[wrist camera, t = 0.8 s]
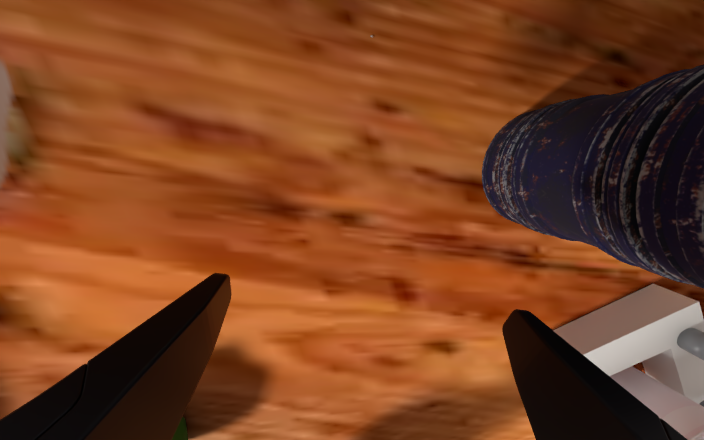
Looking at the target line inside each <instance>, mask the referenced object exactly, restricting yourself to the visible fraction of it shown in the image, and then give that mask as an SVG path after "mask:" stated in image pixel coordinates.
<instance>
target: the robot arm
mask: <svg viewBox="0 0 704 440" xmlns="http://www.w3.org/2000/svg"><path fill="white" fill-rule="evenodd" d="M230 300H231V285H230V277H229V275H227V274H220V273H214V274H212V275H211V276H209V277H208V278H206V279H205V280H204V281H202V282H201V283H199V284H198V285H196V286H195V287H194V288H192V289H191V290H189V291H188V292H186V293H185V294H184V295H182V296H181V297H179V298H178V299H176V300H175V301H174V302H172V303H171V304H169V305H168V306H166V307H165V308H164V309H162V310H161V311H159V312H158V313H156V314H155V315H154V316H152V317H151V318H149V319H148V320H146V321H145V322H144V323H142V324H141V325H139V326H138V327H136V328H135V329H134V330H132V331H131V332H129V333H128V334H126V335H125V336H124V337H122V338H121V339H119V340H118V341H116V342H115V343H114V344H112V345H111V346H109V347H108V348H106V349H105V350H104V351H102V352H101V353H99V354H98V355H96V356H95V357H94V358H92V359H91V360H89V361H88V363H87V364H84V365H82V366H81V367H79V368H78V369H76V370H75V371H73V372H72V373H71V374H69V375H68V376H66V377H65V378H63V379H62V380H60V381H59V382H57V383H56V384H55V385H53V386H52V387H50V388H49V389H47V390H46V391H44V392H43V393H41V394H40V395H38V396H37V397H35V398H34V399H32V400H31V401H29V402H27V403H26V404H24V405H23V406H21V407H20V408H18V409H16V410H15V411H13V412H12V413H10V414H9V415H7V416H5V417H4V418H2V419H1V420H0V440H172V438H173V436H174V433H175V431H176V429H177V427H178V425H179V423H180V421H181V418H182V416H183V414H184V412H185V410H186V408H187V406H188V404H189V401H190V399H191V397H192V395H193V393H194V391H195V389H196V386H197V384H198V382H199V380H200V378H201V376H202V374H203V371H204V369H205V367H206V365H207V363H208V361H209V359H210V356H211V354H212V352H213V350H214V347H215V344H216V341H217V338H218V335H219V332H220V330H221V327H222V324H223V321H224V318H225V315H226V312H227V309H228V306H229V303H230ZM502 330H503V336H504V340H505V344H506V348H507V352H508V356H509V360H510V363H511V367H512V371H513V375H514V378H515V382H516V385H517V388H518V391H519V393H520V396H521V399H522V402H523V405H524V407H525V410H526V413H527V416H528V419H529V421H530V424H531V427H532V430H533V433H534V435H535V438H536V440H688V439H686V438H685V437H684V436H683V435H681V434H680V433H679V432H678V431H676V430H675V429H674V428H673V427H671V426H670V425H669V424H668V423H667V422H665V421H664V420H663V419H661V418H659V417H658V415H657V414H655V413H654V412H653V411H652V410H650V409H649V408H648V407H647V406H645V405H644V404H643V403H642V402H641V401H639V400H638V399H637V398H636V397H634V396H633V395H632V394H631V393H629V392H628V391H627V390H626V389H625V388H623V387H622V386H621V385H620V384H618V383H617V382H616V381H615V380H613V379H612V378H611V377H610V376H608V375H607V374H606V373H605V372H604V371H602V370H601V369H600V368H599V367H597V366H596V365H595V364H594V363H592V362H591V361H590V360H589V359H587V358H586V357H585V356H584V355H583V354H581V353H580V352H579V351H578V350H576V349H575V348H574V347H573V346H571V345H570V344H569V343H568V342H566V341H565V340H564V339H563V338H562V337H560V336H559V335H558V334H557V333H555V332H554V331H553V330H552V329H550V328H549V327H548V326H547V325H545V324H544V323H543V322H542V321H541V320H539V319H538V318H537V317H536V316H534V315H533V314H532V313H531V312H529V311H526V310H518V309H516V310H514V311H513V312H512V313H511V314H510V316H509V317H508V319H507V320H506V322H505V323H504V325H503V329H502Z"/></svg>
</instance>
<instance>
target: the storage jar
mask: <svg viewBox="0 0 704 440" xmlns="http://www.w3.org/2000/svg"><path fill="white" fill-rule="evenodd" d="M482 182H483V188H484V191H485V194H486V197H487V199H488V201H489V202H490V204H491V205H492V207H493V208H494V209H495V210H496V211H497V212H498V213H499V214H500V215H502V216H503V217H505V218H506V219H508V220H511V221H513V222H516V223H518V224H522V225H523V226H525V227H527V228H529V229H532V230H534V231H537V232H540V233H543V234H546V235H551V236H555V237H558V238H561V239H566V240H570V241H581V242H584V243H587V244H590V245H593V246H596V247H598V248H599V249H601V250H602V251H604V252H606V253H607V254H609V255H611V256H613V257H614V258H616V259H618V260H619V261H622V262H624V263H627V264H629V265H633V266H637V267H641V268H642V269H645V270H647V271H650V272H652V273H655V274H658V275H661V276H663V277H666V278H669V279H672V280H675V281H677V282H682V283H687V284H692V285H695V286H698V287H701V288H704V65H701V66H697V67H695V68H693V69H685V70H680V71H676V72H673V73H669V74H666V75H663V76H661V77H659V78H657V79H654V80H652V81H649V82H647V83H645V84H642V85H640V86H638V87H636V88H635V89H633V90H629V91H625V92H621V93H617V94H613V95H604V94H602V95H592V96H588V97H582V98H578V99H570V100H567V101H563V102H559V103H555V104H551V105H548V106H546V107H544V108H542V109H538V110H534V111H530V112H527V113H524V114H522V115H520V116H517V117H516V118H514V119H513V120H511V121H510V122H508V123H507V124H506V125H505V126H504V127H503V128H502V129H501V130H500V131H499V132H498V133H497V134H496V135H495V137H494V139H493V140H492V142H491V143H490V145H489V147H488V149H487V152H486V154H485V158H484V161H483V167H482Z"/></svg>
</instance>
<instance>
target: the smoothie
mask: <svg viewBox="0 0 704 440" xmlns="http://www.w3.org/2000/svg"><path fill="white" fill-rule="evenodd" d="M610 377H611V378H612V379H613V380H615V381H616V382H617V383H618V384H620V385H621V386H622V387H623V388H625V389H626V390H627V391H628V392H629V393H631V394H632V395H633V396H634V397H636V398H637V399H638V400H639V401H641V402H642V403H643V404H644V405H645V406H647V407H648V408H649V409H650V410H652V411H653V412H654V413H655V414H657V415H658V417H659V418H661V419H663V420H664V421H665V422H667V423H668V424H669V425H670V426H671V427H673V428H674V429H675V430H676V431H678V432H679V433H680V434H681V435H683V436H684V437H685V438H686V439H688V440H704V407H703V406H701V405H700V404H698V403H696V402H694V401H693V400H691V399H689V398H687V397H685V396H684V395H682V394H680V393H678V392H677V391H675V390H673V389H671V388H670V387H668V386H666V385H664V384H663V383H661V382H659V381H657V380H655V379H654V378H652V377H650V376H648V375H647V374H645V373H643V372H641V371H640V370H638V369H636V368H634V367H632V366H631V367H629V368H627V369H624V370H622V371H620V372H618V373H615V374H613V375H611V376H610Z"/></svg>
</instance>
